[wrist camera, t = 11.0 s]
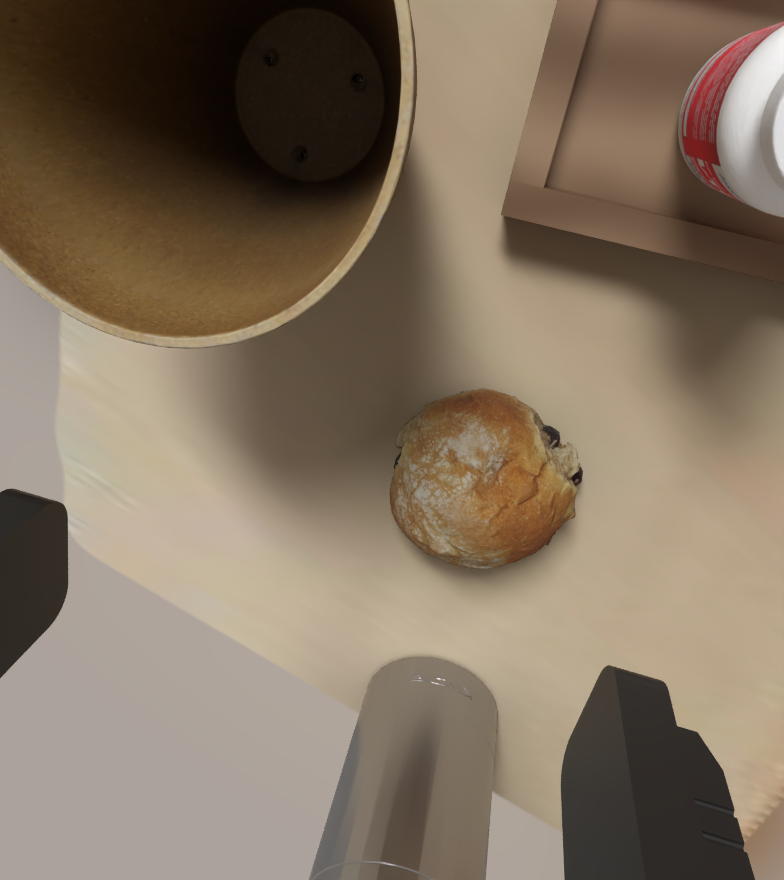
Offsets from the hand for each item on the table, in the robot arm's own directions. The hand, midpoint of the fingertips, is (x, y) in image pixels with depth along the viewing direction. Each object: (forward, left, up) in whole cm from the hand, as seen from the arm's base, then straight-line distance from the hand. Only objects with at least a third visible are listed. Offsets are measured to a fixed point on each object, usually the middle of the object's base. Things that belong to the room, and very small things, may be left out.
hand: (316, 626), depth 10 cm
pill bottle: (+9, -10, -27) cm, 30 cm away
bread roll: (-11, -3, -28) cm, 30 cm away
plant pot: (+6, +9, -28) cm, 30 cm away
